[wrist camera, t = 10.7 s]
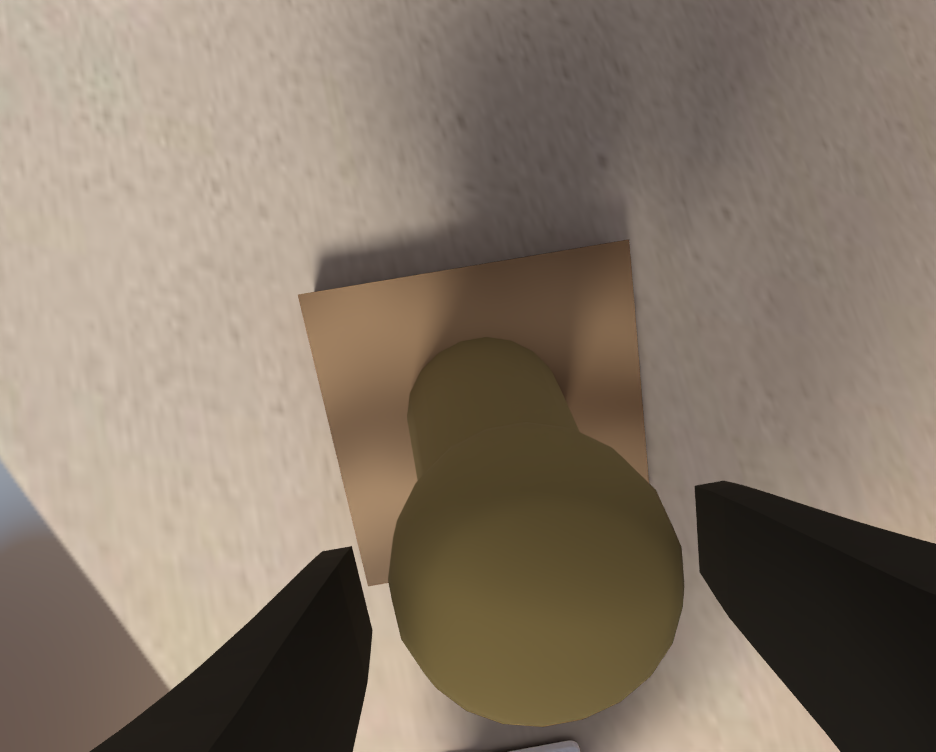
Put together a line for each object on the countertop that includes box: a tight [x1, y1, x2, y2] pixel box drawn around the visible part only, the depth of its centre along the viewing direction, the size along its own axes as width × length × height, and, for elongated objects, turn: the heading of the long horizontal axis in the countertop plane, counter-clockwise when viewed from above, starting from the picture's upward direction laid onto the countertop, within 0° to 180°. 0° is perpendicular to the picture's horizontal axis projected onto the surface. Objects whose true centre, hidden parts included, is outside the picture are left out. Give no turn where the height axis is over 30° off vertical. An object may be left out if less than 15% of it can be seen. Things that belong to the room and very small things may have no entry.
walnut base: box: [298, 240, 649, 586], centre depth 18 cm, size 12×12×2 cm
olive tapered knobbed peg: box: [388, 337, 684, 727], centre depth 12 cm, size 6×6×11 cm
